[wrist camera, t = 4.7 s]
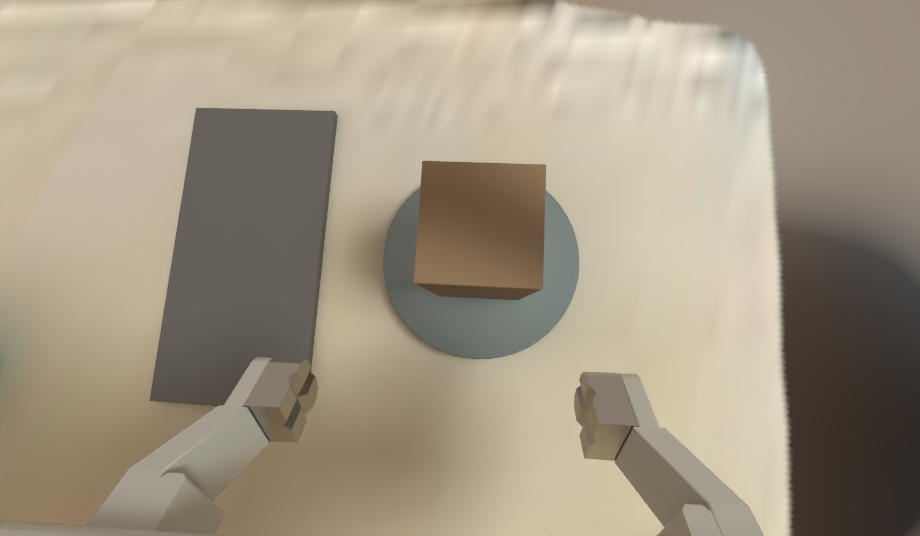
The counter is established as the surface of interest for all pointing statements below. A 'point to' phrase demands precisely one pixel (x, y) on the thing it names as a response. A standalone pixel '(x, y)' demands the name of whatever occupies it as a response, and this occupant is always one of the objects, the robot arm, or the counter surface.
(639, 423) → the robot arm
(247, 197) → the rubber mat
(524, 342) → the slate saucer
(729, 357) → the counter surface
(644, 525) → the counter surface
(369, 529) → the counter surface
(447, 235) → the brown rectangular block
